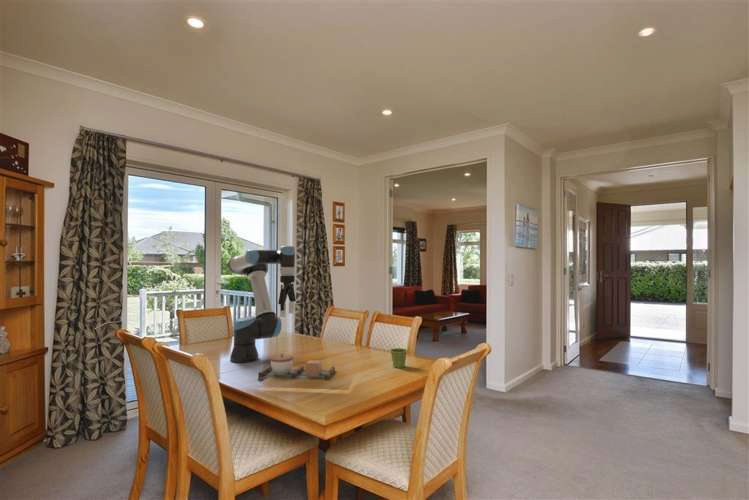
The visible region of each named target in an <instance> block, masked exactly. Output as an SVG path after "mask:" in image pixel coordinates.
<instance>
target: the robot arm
mask: <svg viewBox="0 0 749 500" xmlns="http://www.w3.org/2000/svg"><path fill="white" fill-rule="evenodd" d="M295 261H296V249H295V246H293V245H282V246H280V249H248V250H246V252H245V253H244V254H241V255H235V256H232V257H230V259H229V260H228V263H227V268H228V269H229V271H230V272H232V273H233V274H235V275H239V276H240V275H241V276H244V275H246V277H247V279H248V280H249V281H250V284H251V289H252V295H253V300H254V303H255V304H254V305H255V307H256V308H255V309H256V314H257V315H256V316H253V315H252V316H244V317H240V318H237V319H236V320H235V321H234V322H233V348H232V351H231V354H230V359H229V360H230V362H232V363H241V364H242V363H250V362H254V361H258V360H259V352H258V349H257V346H256V340H263V339H272V338H276V337H279V335H280V334H281V330H282V319H281V318H286V315H287V311H286V310H287V307H286V306H287V305H286V302H287V298H288V314H295V302H296V295H295V288H294V283H295V281H296V280H295V274H296V267H295V266H296V265H295V263H296V262H295ZM270 264H271V265H273V264H274V265H280V268H279V271H280V272H279V273H280V277H279V280H280V281H279V282H280V283H283V284H281V285H280V290H279V292H280V293H279V296H278V302H277V303H278V305H279V316H277V315H276V314H277V313H276V312H274V311H273V309H272V304H271V301H270V296H269V291H268V287H267V286H268V285H267V282H266V278H265V277H266V276H267V274H268V272H269V265H270Z"/></svg>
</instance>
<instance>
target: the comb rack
mask: <svg viewBox="0 0 749 500" xmlns="http://www.w3.org/2000/svg"><path fill="white" fill-rule="evenodd" d="M304 367H305V365H300V366H298V367H297V368H296V369H294V368H293V369H292V368H291V370H290V371H289V372H288V374H285V375H276V374H275V373H274V372H273V370H272V368H271V364H269V365H267V366H266V367H265V368H263V369H262V370H260V371H259V372H258V373H257V376H258V377H257V378H258V379H257V380H258V381H265V380H266V379H271V378H272V379H293V380H294V379H297V380H321V381H322V380H325V381H326V380H327V381H328V380H329V379H330V378H331V376H332V375H333V374H334V372H335V370H336V367H335V366H331V367H330V368H329V369H328V370H324V369H323V370H322V369H321V374H320V375H319V376H306V369H304Z"/></svg>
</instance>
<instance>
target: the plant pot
mask: <svg viewBox="0 0 749 500" xmlns="http://www.w3.org/2000/svg"><path fill="white" fill-rule="evenodd" d="M389 352H390V355H391V361H392V367H393V368H396V369H403V368H406V367H405V366H406V358H407V354H408V352H409V351H408V349H406V348H399V347H398V348H396V347H395V348H391V349H389Z"/></svg>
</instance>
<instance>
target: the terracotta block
mask: <svg viewBox="0 0 749 500" xmlns="http://www.w3.org/2000/svg"><path fill="white" fill-rule="evenodd" d="M305 370H306V376H319V375H320V374H321V370H322V360H316V359H315V360H313V359H309V360H307V362H306V363H305Z"/></svg>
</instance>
